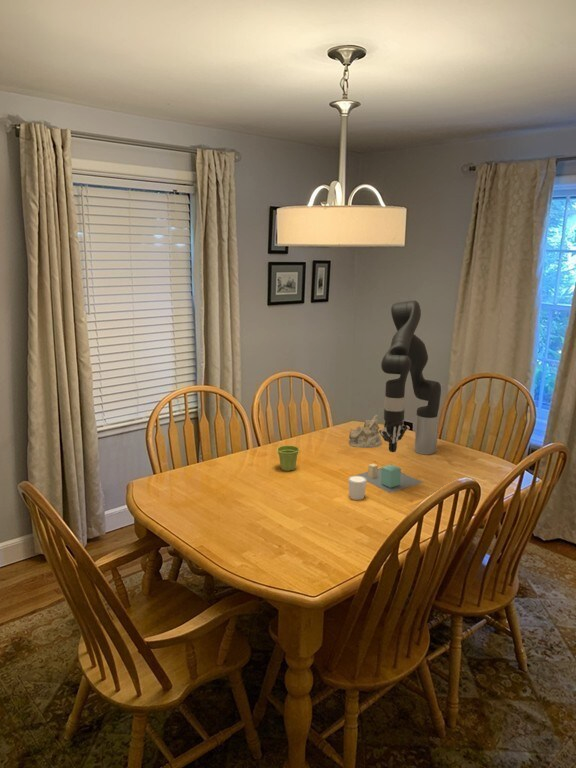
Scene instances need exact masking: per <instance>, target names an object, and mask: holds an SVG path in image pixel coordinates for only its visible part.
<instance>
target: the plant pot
mask: <svg viewBox="0 0 576 768" xmlns="http://www.w3.org/2000/svg"><path fill="white" fill-rule="evenodd" d="M276 451H277V454H278V456H279V457H278V458H279V463H280V464H279V465H280V469H281V470H282V471H285V472H290V471H294V470H296V466H297V458H298V453H299V452H300V448H299V447H297V446H295V445H281V446H278V447H277V448H276Z"/></svg>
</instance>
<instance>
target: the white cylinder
mask: <svg viewBox="0 0 576 768" xmlns="http://www.w3.org/2000/svg"><path fill="white" fill-rule="evenodd" d="M347 481H348V482H347V483H348V496H349V498H350V499H352V500H358V501H359V500H362V499H364V498H365V494H366V488H367V479H366V478H365V477H362V476H355V475H351V476H349V477H348V478H347Z"/></svg>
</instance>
